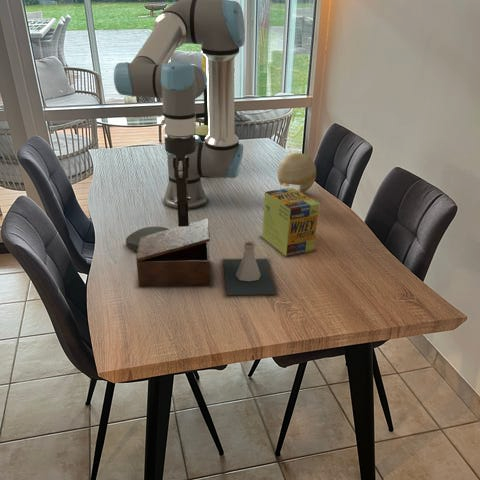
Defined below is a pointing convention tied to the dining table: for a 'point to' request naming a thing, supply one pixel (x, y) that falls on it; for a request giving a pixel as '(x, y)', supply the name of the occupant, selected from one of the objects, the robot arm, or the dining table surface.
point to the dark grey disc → (134, 238)
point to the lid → (173, 240)
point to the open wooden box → (176, 268)
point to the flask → (248, 264)
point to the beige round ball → (297, 171)
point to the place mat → (247, 287)
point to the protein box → (290, 221)
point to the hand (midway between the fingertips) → (183, 225)
